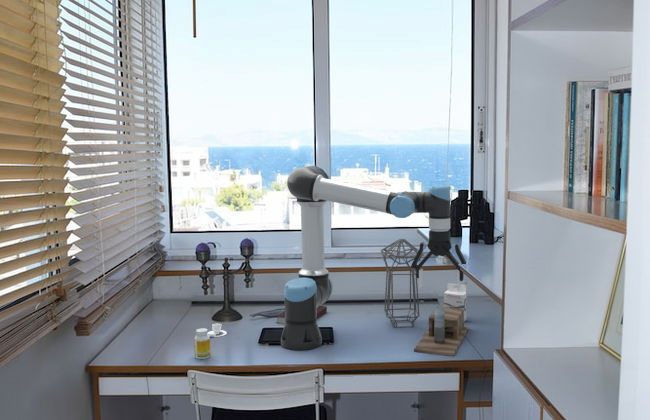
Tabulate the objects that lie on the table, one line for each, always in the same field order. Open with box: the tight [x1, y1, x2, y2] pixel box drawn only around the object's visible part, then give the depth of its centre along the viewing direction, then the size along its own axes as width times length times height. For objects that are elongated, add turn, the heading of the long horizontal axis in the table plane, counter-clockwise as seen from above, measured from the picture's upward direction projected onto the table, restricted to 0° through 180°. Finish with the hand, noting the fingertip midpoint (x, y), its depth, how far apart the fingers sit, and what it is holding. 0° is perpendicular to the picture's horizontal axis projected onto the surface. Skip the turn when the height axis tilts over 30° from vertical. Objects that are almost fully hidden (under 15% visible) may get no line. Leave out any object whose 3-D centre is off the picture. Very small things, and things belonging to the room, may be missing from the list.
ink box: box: [443, 282, 468, 322], centre depth 248 cm, size 8×5×15 cm, turn 61°
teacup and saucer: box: [207, 322, 228, 338], centre depth 236 cm, size 9×8×4 cm
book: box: [275, 305, 328, 325], centre depth 256 cm, size 14×22×4 cm, turn 157°
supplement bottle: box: [193, 327, 211, 360], centre depth 210 cm, size 5×5×10 cm
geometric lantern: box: [380, 238, 425, 329], centre depth 242 cm, size 16×16×35 cm
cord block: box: [433, 308, 454, 344], centre depth 227 cm, size 22×6×12 cm, turn 158°
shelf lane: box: [413, 306, 469, 357], centre depth 224 cm, size 32×14×8 cm, turn 158°
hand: (439, 288), depth 216 cm, fingers open, 13 cm apart
